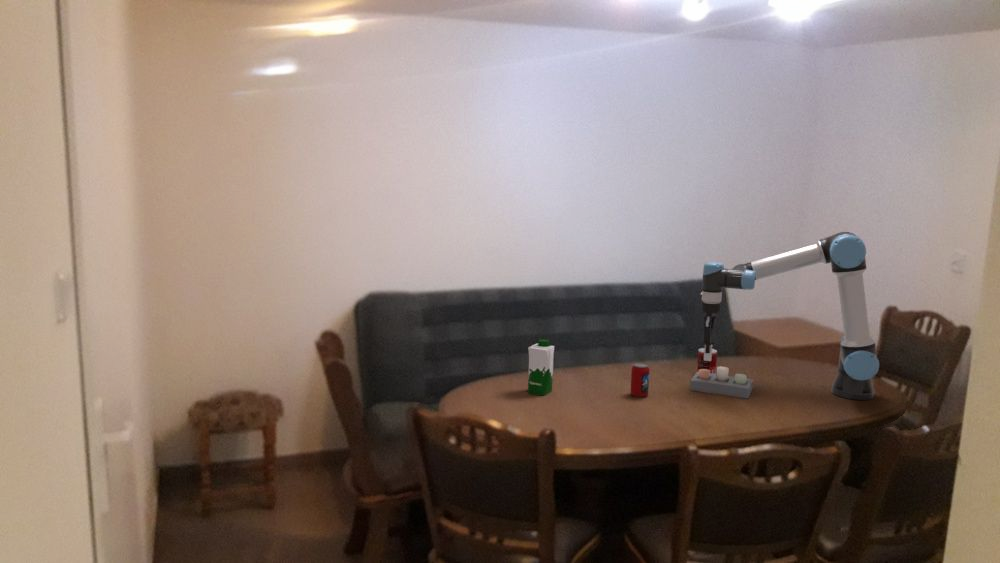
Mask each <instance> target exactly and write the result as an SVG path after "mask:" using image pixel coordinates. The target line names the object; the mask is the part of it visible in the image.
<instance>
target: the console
mask: <svg viewBox="0 0 1000 563" xmlns="http://www.w3.org/2000/svg"><path fill="white" fill-rule="evenodd" d="M698 375H699V372H697V371H696V372H695V374H694V375H693V377H692V378H691V379H690V381H689V391H694V392H700V393H706V394H707V393H708V394H713V395H720V396H728V397H735V398H742V399H746V400H747V399H749V397H750V395H751V393H752V391H753V388H754V379H753V378H747V381H746V385H743V384H736V383H734V382H735V376H731V375H728V381H727V382H722V381H717V380H716V376H717V373H716V374H711V373H710V379H709V380H707V379H700V378H698Z"/></svg>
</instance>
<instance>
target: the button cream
mask: <svg viewBox="0 0 1000 563" xmlns="http://www.w3.org/2000/svg"><path fill="white" fill-rule="evenodd" d="M729 369H730V368H729V367H728V366H727V367H726V366H721V365H720V366H716V374H717V376H716V380H717V381H722V382H727V381H728V376H729V373H730V372H729Z"/></svg>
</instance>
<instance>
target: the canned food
mask: <svg viewBox="0 0 1000 563" xmlns="http://www.w3.org/2000/svg"><path fill="white" fill-rule="evenodd" d="M717 357H718V350H716V349H714V348H712V357H711V361H704V347H701V348H698V351H697V362H696V363H697V365H696V366H697V368H696V373H697V372H699V369H708V370H710V373H711V374H717V359H718V358H717Z"/></svg>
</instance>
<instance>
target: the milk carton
mask: <svg viewBox="0 0 1000 563" xmlns="http://www.w3.org/2000/svg"><path fill="white" fill-rule="evenodd" d="M527 349H528V384H527V393H528V394H532V395H539V396H546V395H548V394H549V393H551V392H552V391H553V382H554V380H553V379H554V378H553V377H554V353H555V345H551V344H550V340H549V339H546V338H539V339H538V343H535V344H532V345H531V346H528V348H527Z"/></svg>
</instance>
